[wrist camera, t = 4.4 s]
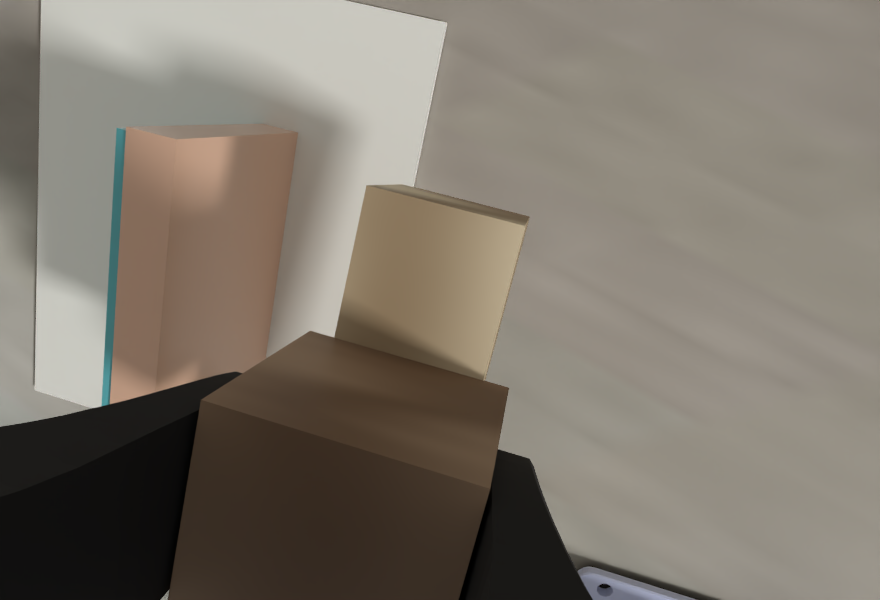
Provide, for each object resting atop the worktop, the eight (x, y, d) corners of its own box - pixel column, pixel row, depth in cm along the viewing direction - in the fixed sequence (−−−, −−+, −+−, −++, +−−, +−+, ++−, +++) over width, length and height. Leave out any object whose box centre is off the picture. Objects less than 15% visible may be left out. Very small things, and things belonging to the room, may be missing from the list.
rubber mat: (447, 23, 18) (446, 22, 18) (352, 486, 23) (350, 489, 23) (47, -65, 20) (42, -67, 19) (39, 388, 25) (34, 390, 24)
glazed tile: (298, 132, 20) (176, 139, 13) (265, 362, 22) (149, 455, 16) (253, 121, 20) (113, 123, 14) (226, 350, 22) (97, 438, 16)
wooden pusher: (551, 222, 14) (555, 261, 7) (445, 598, 16) (373, 896, 10) (382, 179, 15) (238, 177, 8) (301, 551, 17) (133, 803, 10)
